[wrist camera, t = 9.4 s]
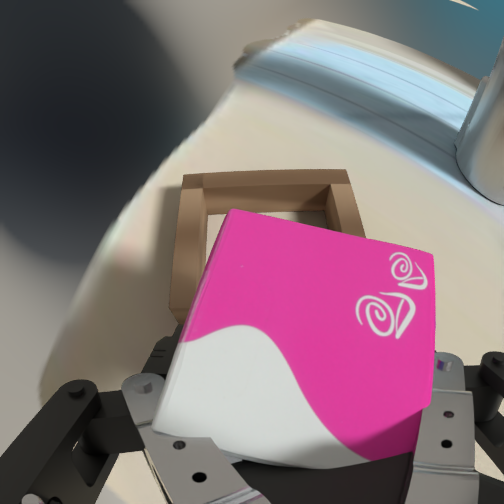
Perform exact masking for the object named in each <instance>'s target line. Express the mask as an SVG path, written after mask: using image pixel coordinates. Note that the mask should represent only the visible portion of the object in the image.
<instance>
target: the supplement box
mask: <svg viewBox="0 0 504 504" xmlns="http://www.w3.org/2000/svg"><path fill="white" fill-rule="evenodd" d="M435 328H436V322H435V275H434V259H433V255H432V254H430V253H427V252H424V251H421V250H417V249H413V248H409V247H404V246H401V245H396V244H392V243H387V242H383V241H377V240H372V239H367V238H363V237H359V236H354V235H349V234H345V233H341V232H336V231H332V230H328V229H324V228H320V227H315V226H311V225H306V224H302V223H298V222H293V221H289V220H284V219H280V218H275V217H271V216H266V215H262V214H257V213H253V212H248V211H243V210H239V209H230V210H229V211H228V213H227V215H226V217H225V218H224V221H223V223H222V225H221V228H220V230H219V233H218V235H217V238H216V240H215V243H214V245H213V248H212V250H211V253H210V256H209V258H208V261H207V264H206V266H205V269H204V271H203V274H202V276H201V279H200V281H199V284H198V287H197V290H196V293H195V295H194V298H193V301H192V304H191V307H190V310H189V313H188V315H187V318H186V321H185V324H184V327H183V329H182V332H181V335H180V338H179V341H178V344H177V347H176V350H175V352H174V355H173V359H172V362H171V365H170V368H169V371H168V374H167V377H166V380H165V384H164V387H163V390H162V392H161V395H160V398H159V401H158V405H157V408H156V411H155V414H154V418H153V422H152V426H151V427H152V429H153V431H157V432H161V433H165V434H169V435H173V436H179V437H211V439H212V440H213V441H214V443H215V444H216V445H217V447H218V448H219V449H220V451H221V452H222V453H223V455H227V456H231V457H235V458H239V459H244V460H248V461H253V462H257V463H262V464H268V465H276V466H286V467H299V468H310V469H331V468H338V467H344V466H350V465H355V464H360V463H365V462H370V461H374V460H379V459H383V458H388V457H392V456H396V455H399V454H403V453H407V452H411V451H412V450H413V445H414V441H415V437H416V434H417V430H418V426H419V422H420V418H421V414H422V410H423V408H426V407H427V406H428V405H429V404H430V403H431V395H432V385H433V372H434V354H435Z"/></svg>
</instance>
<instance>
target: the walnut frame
mask: <svg viewBox="0 0 504 504" xmlns="http://www.w3.org/2000/svg"><path fill="white" fill-rule="evenodd" d="M230 209H239V210H243V211H248V212H253V213H256V212H284V211H321V210H324V211H325V216H326V220H327V225H328V230H332V231H336V232H341V233H345V234H349V235H354V236H359V237H363V238H366V236H365V233H364V229H363V225H362V221H361V218H360V214H359V211H358V207H357V204H356V200H355V197H354V194H353V190H352V187H351V184H350V181H349V177H348V174H347V171H346V170H345V169H298V170H258V171H234V172H216V173H200V174H187V175H183V182H182V189H181V197H180V204H179V212H178V220H177V229H176V237H175V246H174V256H173V266H172V277H171V288H170V301H169V309H170V310H171V312H172V313H173V315H174V316H175V318H176V319H177V321H178V322H179V324H180V325H184V324H185V321H186V318H187V315H188V313H189V310H190V307H191V304H192V301H193V298H194V295H195V293H196V290H197V287H198V284H199V281H200V279H201V276H202V274H203V271H204V269H205V263H206V241H207V221H208V215H212V214H227V213H228V211H229V210H230Z"/></svg>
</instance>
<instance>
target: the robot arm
mask: <svg viewBox="0 0 504 504" xmlns="http://www.w3.org/2000/svg"><path fill="white" fill-rule="evenodd" d="M454 144H455V146H456V148H457V152H456V160H457V163H458V166H459V168H460V170H461V172H462V173H463V175H464V176H465V177H466V179H467V180H468V181H469V182H470V183H471V184H472V186H473V187H475V188H476V189H477V190H478V191H479V192H480V193H481V194H483V195H484V196H486V197H487V198H488V199H490V200H492V201H494V202H496V203H498V204H501V205H504V38H503V41H502V44H501V47H500V50H499V53H498V56H497V58H496V61H495V64H494V67H493V69H492V72H491V75H490V77H487V76H484V77H483V78H482V79H481V81H480V84H479V86H478V89H477V91H476V94H475V96H474V99H473V101H472V104H471V106H470V108H469V111H468V113H467V115H466V118H465V120H464V122H463V124H462V127H461V129H460V131H459V133H458V135H457V138H456V140H455V142H454ZM183 327H184V325H177V327H176V330H175V332H174V334H173V336H172V337H164V338H162V339H161V340H160V341H158V342H157V343H156V345H155V347H154V349H153V351H152V353H151V355H150V357H149V359H148V360H147V362H146V364H145V366H144V368H143V370H142V372H141V373H140V374H136V375H133V376H131V377H129V378H127V379H126V380H125V381H124V382H123V383H122V387H121V389H122V390H118V391H110V392H101V393H99V392H98V389H97V386H96V385H95V384H94V383H93V382H91V381H89V380H74V381H70V382H68V383H66V384H64V385H63V386H61V387H60V388H59V389H58V391H57V392H56V393H55V394H54V395H53V396H52V397H51V398H50V400H49V401H48V402H47V403H46V404H45V405H44V406H43V407H42V409H41V410H40V411H39V412H38V414H37V415H36V416H35V417H34V418H33V419H32V420H31V421H30V422H29V424H28V425H27V426H26V427H25V428H24V429H23V431H22V432H21V433H20V434H19V435H18V437H17V438H16V439H15V440H14V441H13V443H12V444H11V445H10V446H9V447H8V449H7V450H6V451H5V452H4V453H3V455H2V456H1V457H0V504H95V502H96V500H97V498H98V496H99V494H100V492H101V490H102V488H103V486H104V484H105V482H106V480H107V478H108V476H109V474H110V472H111V470H112V468H113V466H114V464H115V462H116V460H117V458H118V456H119V453H126V452H134V451H142V452H143V454H144V457H145V459H146V461H147V463H148V466H149V468H150V470H151V472H152V474H153V476H154V479H155V481H156V483H157V485H158V487H159V489H160V491H161V493H162V495H163V497H164V499H165V502H166V504H504V482H503V481H500V480H497V479H495V478H492V477H490V476H487V475H484V474H482V473H479V472H478V471H476V470H475V467H474V463H475V440H476V442H477V443H478V444H479V445H480V446H481V448H482V449H483V450H484V451H485V452H486V454H487V455H488V456H489V457H490V458H491V460H492V461H493V462H494V463H495V465H496V466H497V467H498V468H499V470H500V471H501V472H502V473H503V474H504V417H503V416H502V415H501V414H500V413H499V412H498V409H499V407H500V404H501V402H502V400H503V398H504V353H502V352H488V353H486V354H484V355H483V357H482V360H481V363H480V365H476V366H463V362H462V360H461V359H460V358H459V357H457V356H456V355H454V354H451V353H446V352H436V351H435V354H434V372H433V385H432V395H431V403H430V404H429V405H428V406H427V407H426V408H423V410H422V414H421V418H420V422H419V426H418V430H417V434H416V437H415V441H414V445H413V450H412V451H411V452H407V453H403V454H399V455H396V456H392V457H388V458H383V459H379V460H374V461H370V462H365V463H360V464H355V465H350V466H344V467H338V468H331V469H310V468H299V467H286V466H276V465H268V464H262V463H257V462H253V461H248V460H244V459H242V461H239V462H235V463H232V464H230V462H229V461H228V460H227V458H226V457H225V456H224V455H223V453H222V452H221V451H220V449H219V448H218V447H217V445H216V444H215V443H214V441H213V440H212V439H211V437H179V436H173V435H169V434H165V433H161V432H157V431H153V429H152V427H151V426H152V422H153V418H154V414H155V411H156V408H157V405H158V401H159V398H160V395H161V392H162V390H163V387H164V384H165V380H166V377H167V374H168V371H169V368H170V365H171V362H172V359H173V355H174V352H175V350H176V347H177V344H178V341H179V338H180V335H181V332H182V329H183ZM77 441H78V443H77ZM76 443H77V445H76V446H75V444H76ZM74 446H75V448H74V449H73V447H74ZM72 450H73V451H72Z"/></svg>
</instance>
